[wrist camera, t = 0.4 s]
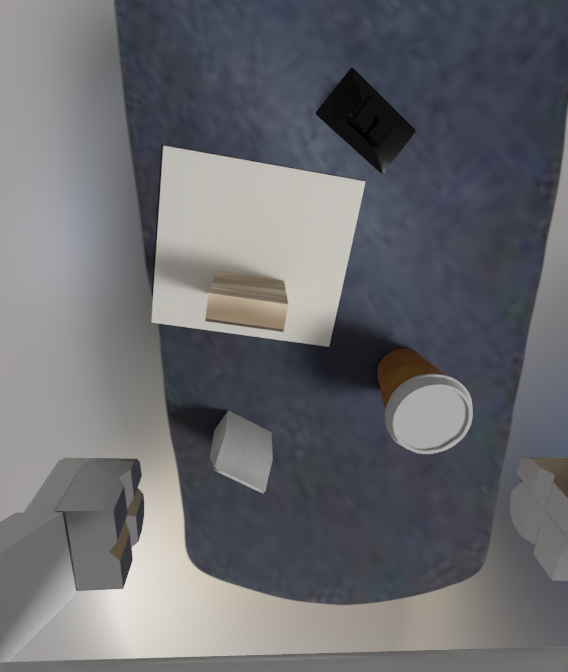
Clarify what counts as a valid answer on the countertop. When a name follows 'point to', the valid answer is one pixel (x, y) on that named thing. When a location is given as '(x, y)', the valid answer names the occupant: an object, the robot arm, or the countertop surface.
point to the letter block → (247, 301)
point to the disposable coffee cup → (422, 403)
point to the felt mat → (252, 239)
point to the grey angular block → (242, 451)
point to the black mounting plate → (365, 120)
